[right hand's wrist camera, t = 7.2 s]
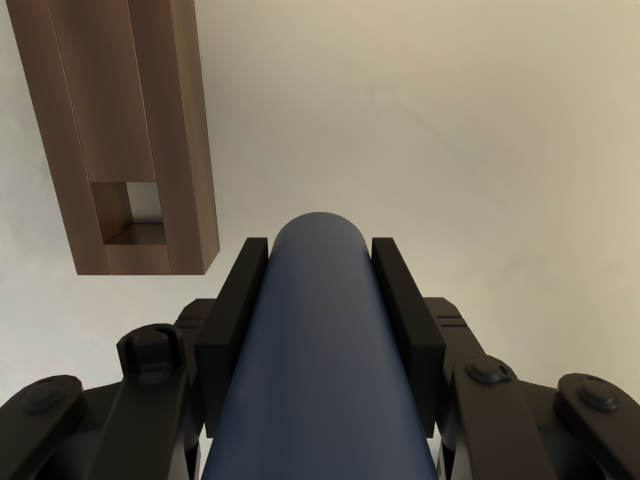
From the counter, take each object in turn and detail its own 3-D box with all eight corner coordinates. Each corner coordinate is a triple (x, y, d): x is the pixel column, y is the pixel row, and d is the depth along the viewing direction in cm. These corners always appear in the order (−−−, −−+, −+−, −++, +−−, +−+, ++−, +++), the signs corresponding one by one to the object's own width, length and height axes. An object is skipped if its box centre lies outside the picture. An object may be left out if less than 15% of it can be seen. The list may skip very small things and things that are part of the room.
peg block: (180, -134, 24) (119, -233, 17) (220, 250, 34) (192, 294, 27) (25, -134, 24) (-104, -234, 17) (109, 250, 34) (51, 294, 27)
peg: (370, 211, 15) (520, 561, 4) (365, 299, 16) (464, 741, 5) (269, 211, 15) (119, 561, 4) (273, 299, 16) (174, 742, 5)
